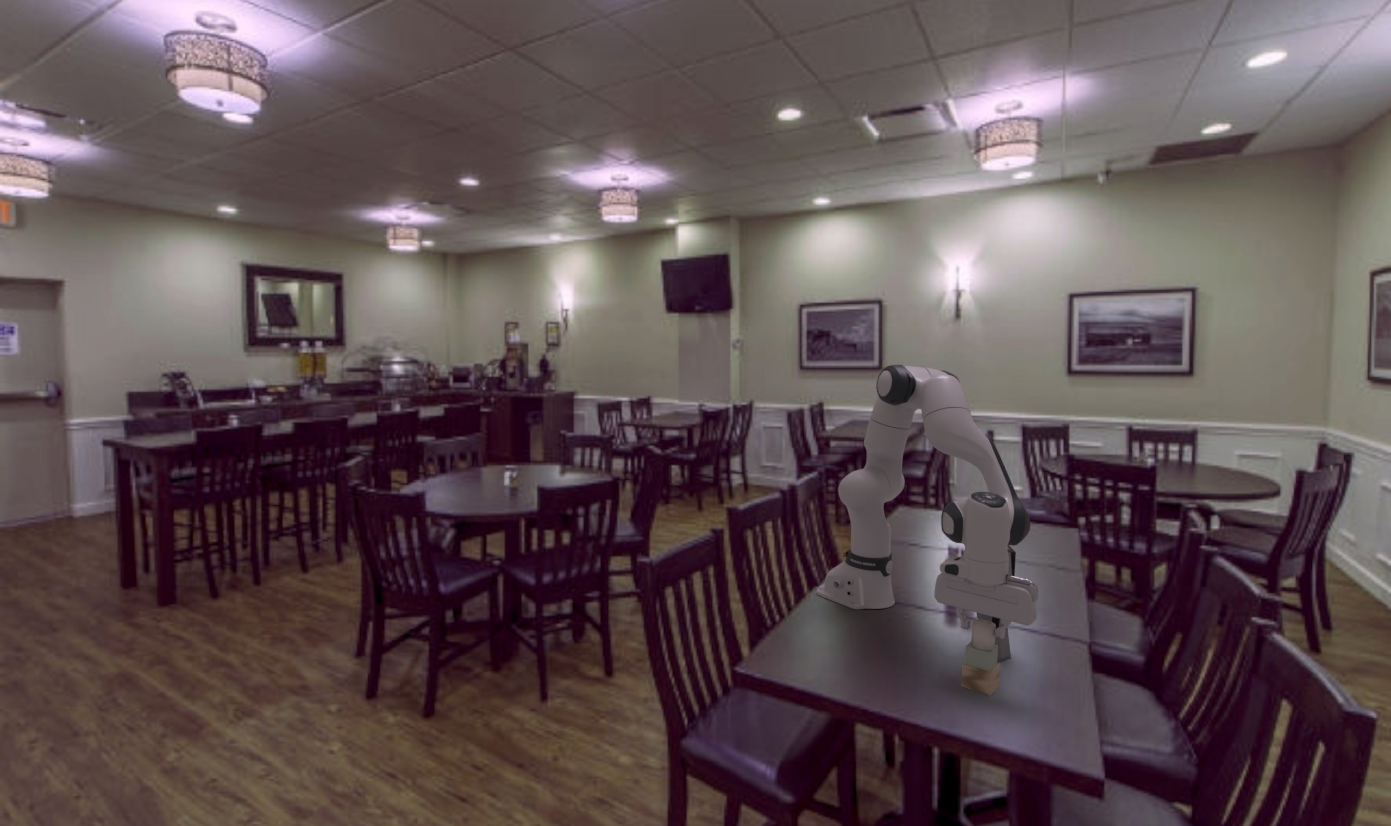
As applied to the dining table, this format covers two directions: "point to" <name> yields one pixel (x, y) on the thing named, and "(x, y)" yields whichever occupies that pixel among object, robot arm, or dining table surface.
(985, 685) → the tower base
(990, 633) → the grey rounded cylinder
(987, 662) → the tower top
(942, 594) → the robot arm
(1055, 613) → the dining table surface
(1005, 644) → the coffee maker
